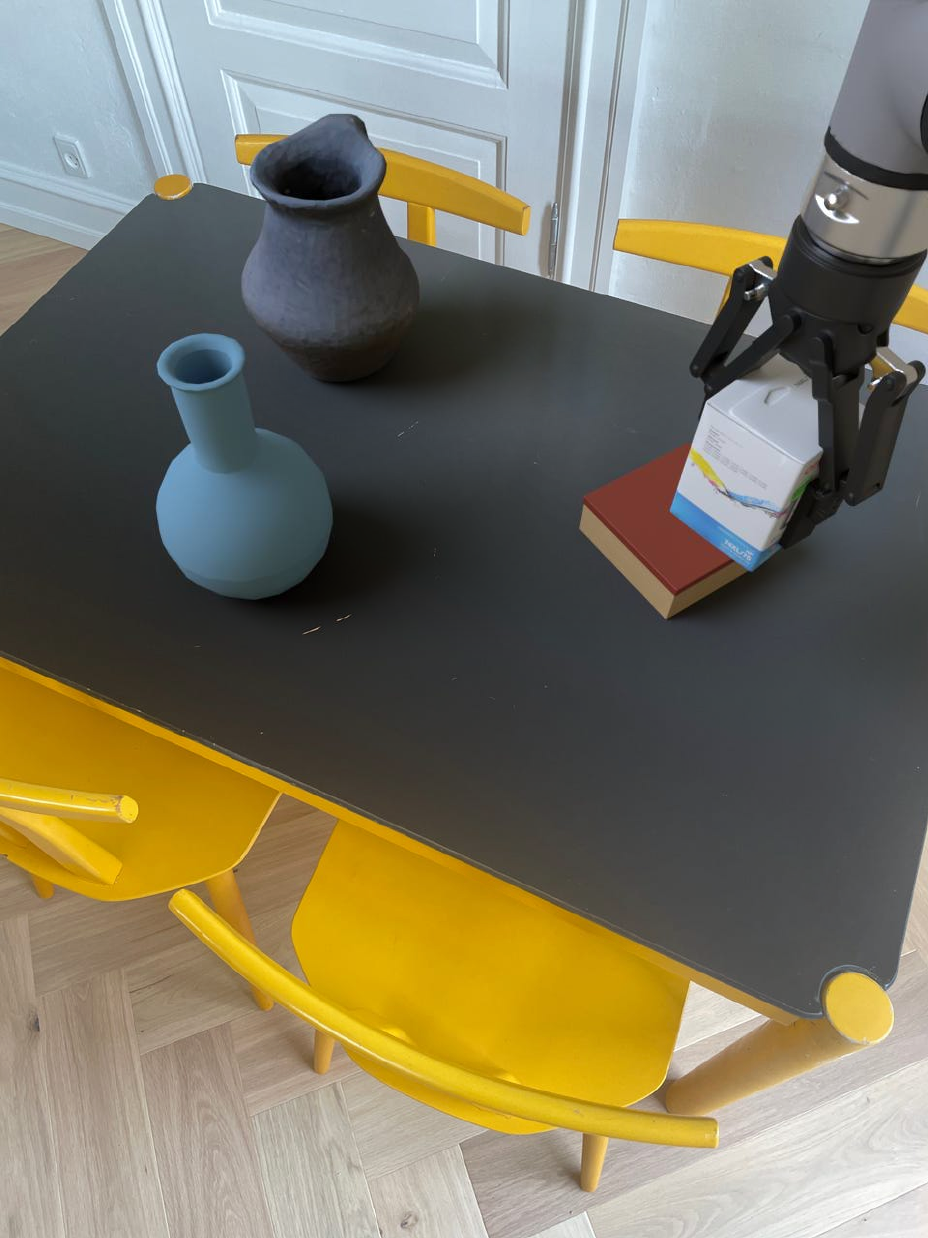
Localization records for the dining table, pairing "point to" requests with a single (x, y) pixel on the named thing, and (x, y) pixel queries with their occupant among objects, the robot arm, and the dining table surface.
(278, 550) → the vase
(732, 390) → the ink box
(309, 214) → the pitcher
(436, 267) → the dining table surface
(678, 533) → the book
